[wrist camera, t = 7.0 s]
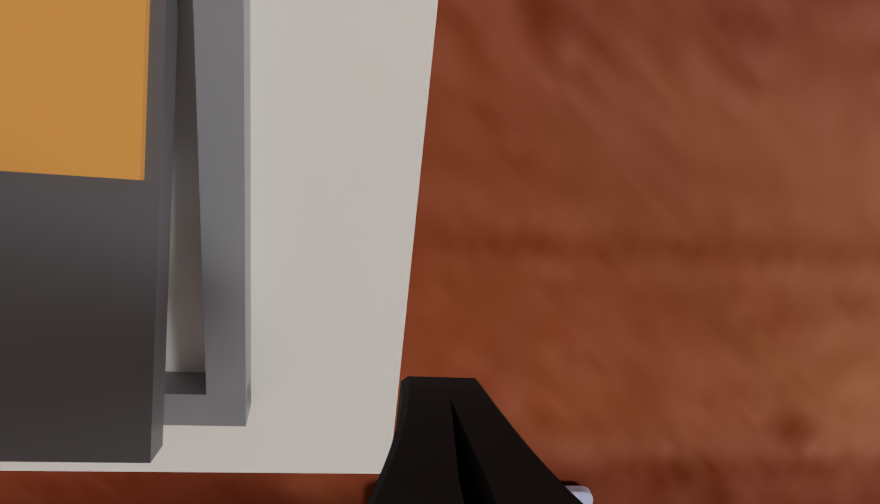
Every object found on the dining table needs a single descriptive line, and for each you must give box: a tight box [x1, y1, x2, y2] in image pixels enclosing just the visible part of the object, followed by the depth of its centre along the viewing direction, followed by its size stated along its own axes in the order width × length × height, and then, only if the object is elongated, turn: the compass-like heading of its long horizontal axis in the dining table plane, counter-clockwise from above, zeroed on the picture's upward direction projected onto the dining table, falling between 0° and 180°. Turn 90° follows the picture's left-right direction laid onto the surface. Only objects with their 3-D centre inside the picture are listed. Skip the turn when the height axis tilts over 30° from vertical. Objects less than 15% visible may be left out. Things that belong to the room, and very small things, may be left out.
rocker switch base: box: [0, 0, 438, 474], centre depth 17 cm, size 18×16×4 cm
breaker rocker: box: [0, 0, 179, 463], centre depth 14 cm, size 10×5×1 cm, turn 173°
